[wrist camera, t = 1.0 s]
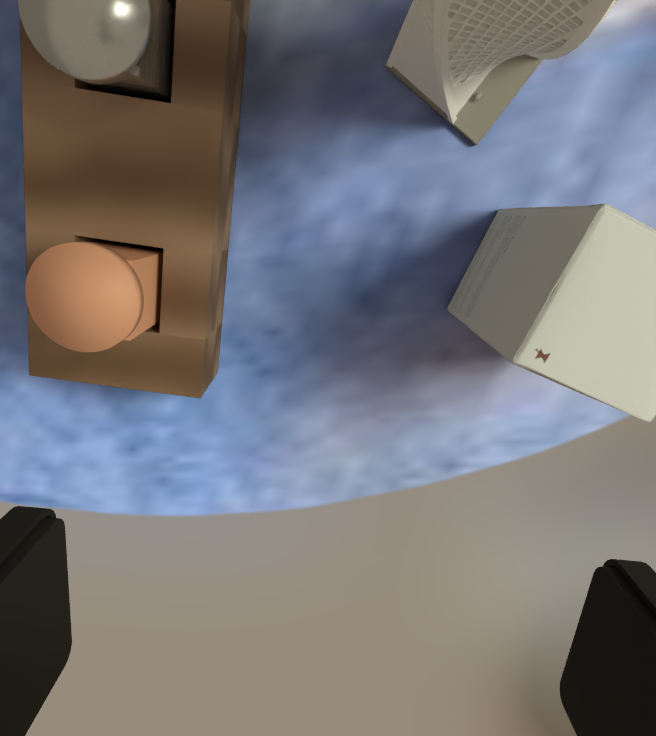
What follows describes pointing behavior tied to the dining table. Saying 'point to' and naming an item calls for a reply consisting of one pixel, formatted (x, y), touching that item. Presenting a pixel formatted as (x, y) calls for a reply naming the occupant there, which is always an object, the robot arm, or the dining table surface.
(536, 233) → the supplement box
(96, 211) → the plug block
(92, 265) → the terracotta plug
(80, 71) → the plug
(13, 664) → the robot arm
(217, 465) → the dining table surface
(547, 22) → the skyscraper
